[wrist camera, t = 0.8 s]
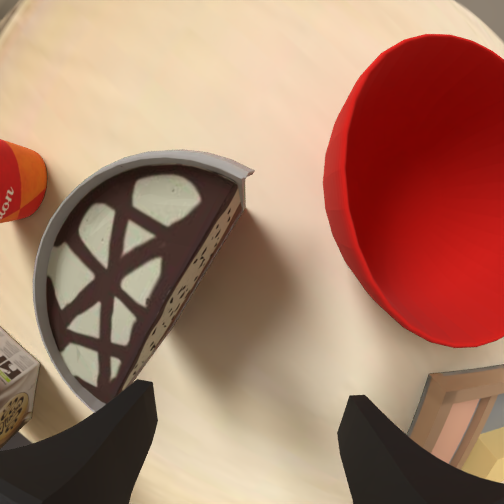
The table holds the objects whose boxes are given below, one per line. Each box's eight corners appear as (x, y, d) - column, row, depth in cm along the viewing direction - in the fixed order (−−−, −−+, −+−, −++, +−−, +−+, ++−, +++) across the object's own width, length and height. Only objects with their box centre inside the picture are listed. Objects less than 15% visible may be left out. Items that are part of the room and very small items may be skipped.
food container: (177, 138, 19) (106, 83, 9) (258, 186, 19) (252, 162, 9) (94, 294, 21) (2, 344, 11) (163, 343, 21) (101, 427, 11)
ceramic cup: (515, 173, 18) (604, 166, 8) (388, 328, 20) (460, 403, 10) (416, 44, 17) (482, -23, 7) (257, 189, 19) (251, 167, 9)
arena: (490, 477, 22) (500, 490, 19) (369, 509, 23) (375, 529, 20) (550, 354, 20) (566, 364, 17) (428, 373, 21) (445, 391, 18)
